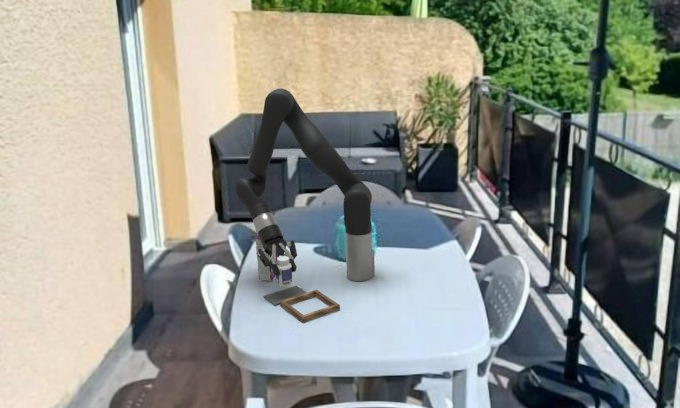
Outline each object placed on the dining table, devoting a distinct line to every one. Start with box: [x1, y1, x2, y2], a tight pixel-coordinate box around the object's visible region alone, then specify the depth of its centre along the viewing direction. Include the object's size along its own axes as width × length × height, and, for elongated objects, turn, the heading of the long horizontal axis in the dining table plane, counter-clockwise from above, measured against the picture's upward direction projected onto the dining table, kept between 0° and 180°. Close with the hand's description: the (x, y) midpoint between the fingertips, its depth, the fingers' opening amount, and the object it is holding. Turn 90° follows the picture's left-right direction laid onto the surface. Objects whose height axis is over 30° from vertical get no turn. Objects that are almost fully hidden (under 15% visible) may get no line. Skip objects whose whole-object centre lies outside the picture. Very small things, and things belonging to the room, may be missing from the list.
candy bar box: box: [255, 235, 280, 282], centre depth 232 cm, size 11×5×16 cm, turn 168°
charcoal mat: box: [262, 285, 307, 307], centre depth 217 cm, size 13×8×1 cm, turn 124°
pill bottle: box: [275, 256, 293, 287], centre depth 214 cm, size 5×5×9 cm
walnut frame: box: [280, 289, 341, 324], centre depth 208 cm, size 14×14×2 cm
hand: (286, 273), depth 213 cm, fingers closed on pill bottle, 5 cm apart
